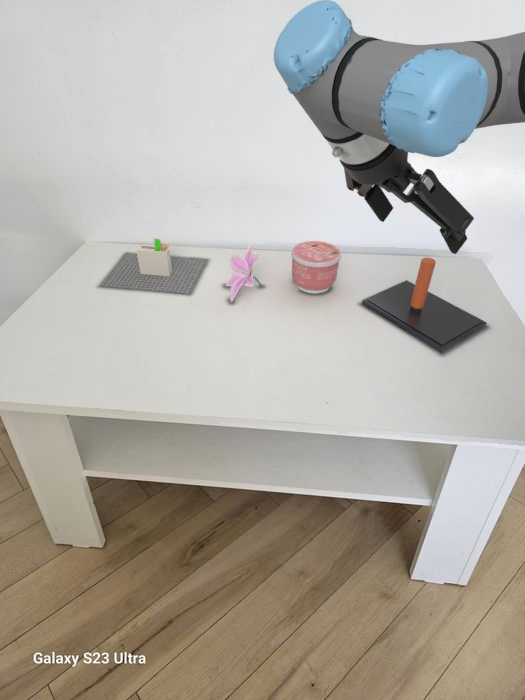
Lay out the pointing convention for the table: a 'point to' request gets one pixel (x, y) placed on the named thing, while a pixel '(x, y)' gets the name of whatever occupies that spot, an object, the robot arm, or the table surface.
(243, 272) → the lily
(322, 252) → the container
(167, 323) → the table surface
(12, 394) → the table surface
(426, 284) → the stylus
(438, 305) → the plate
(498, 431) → the table surface
